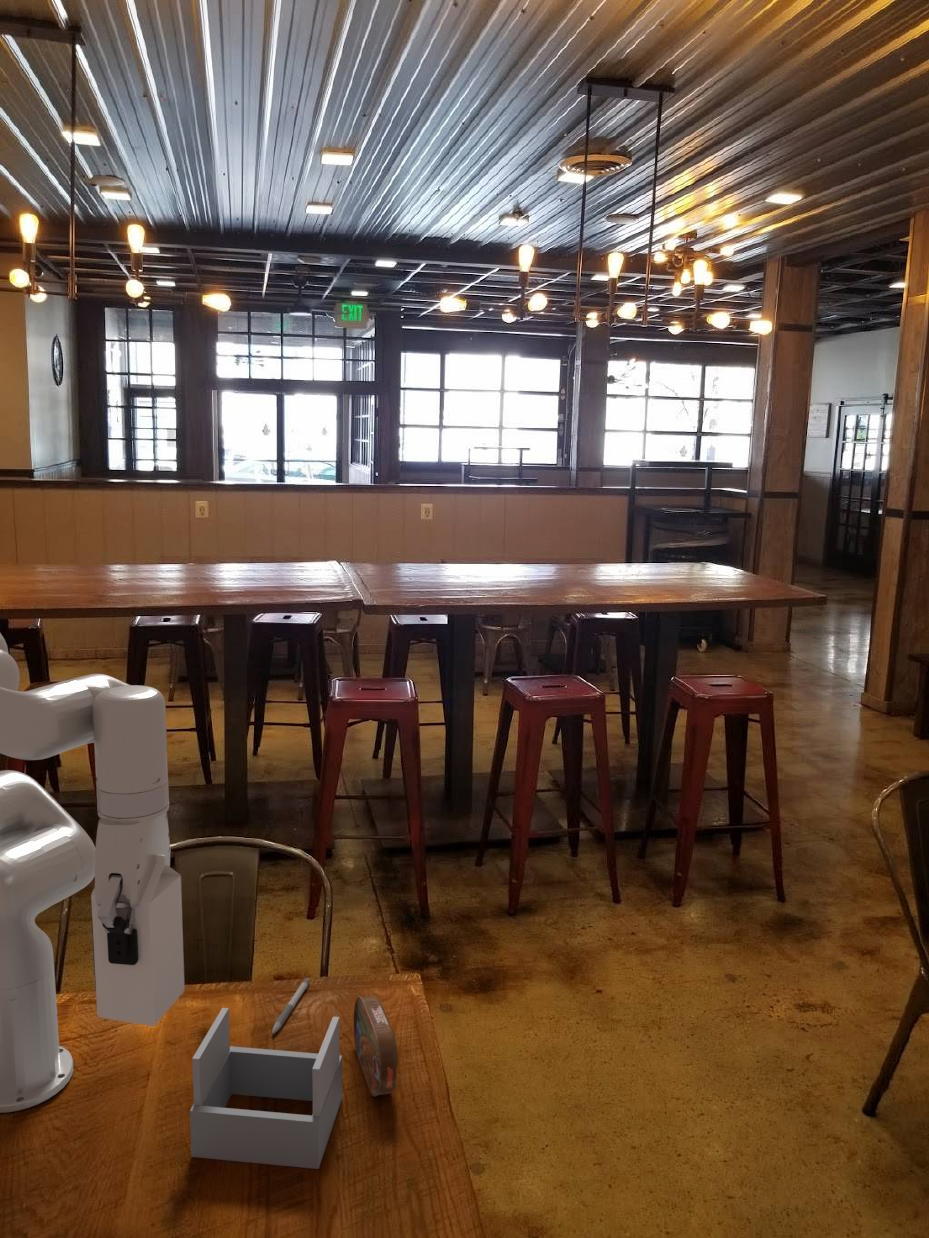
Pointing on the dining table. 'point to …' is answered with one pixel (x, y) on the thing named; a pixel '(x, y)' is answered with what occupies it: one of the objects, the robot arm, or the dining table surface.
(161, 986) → the milk carton
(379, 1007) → the tin
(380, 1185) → the dining table surface
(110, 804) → the robot arm
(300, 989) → the pen
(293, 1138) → the flap box
